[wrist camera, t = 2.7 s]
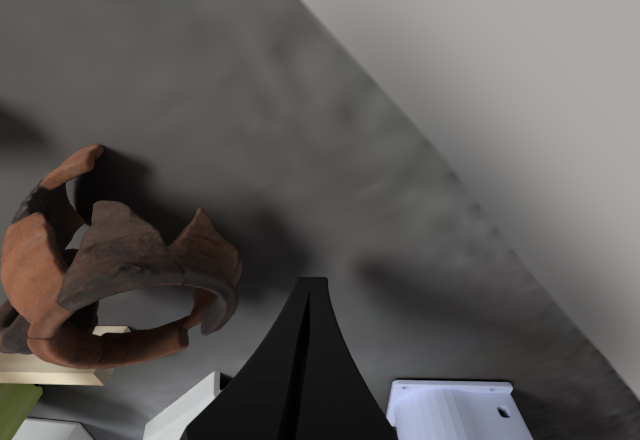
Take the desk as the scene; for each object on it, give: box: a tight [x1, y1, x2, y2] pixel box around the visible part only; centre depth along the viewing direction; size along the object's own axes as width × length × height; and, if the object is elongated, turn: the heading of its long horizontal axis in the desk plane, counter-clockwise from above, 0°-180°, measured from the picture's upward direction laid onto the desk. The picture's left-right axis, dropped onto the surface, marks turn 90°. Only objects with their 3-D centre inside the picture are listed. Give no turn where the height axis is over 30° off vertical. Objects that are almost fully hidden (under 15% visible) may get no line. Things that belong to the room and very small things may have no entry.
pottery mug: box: [0, 144, 243, 369], centre depth 14 cm, size 12×10×8 cm
